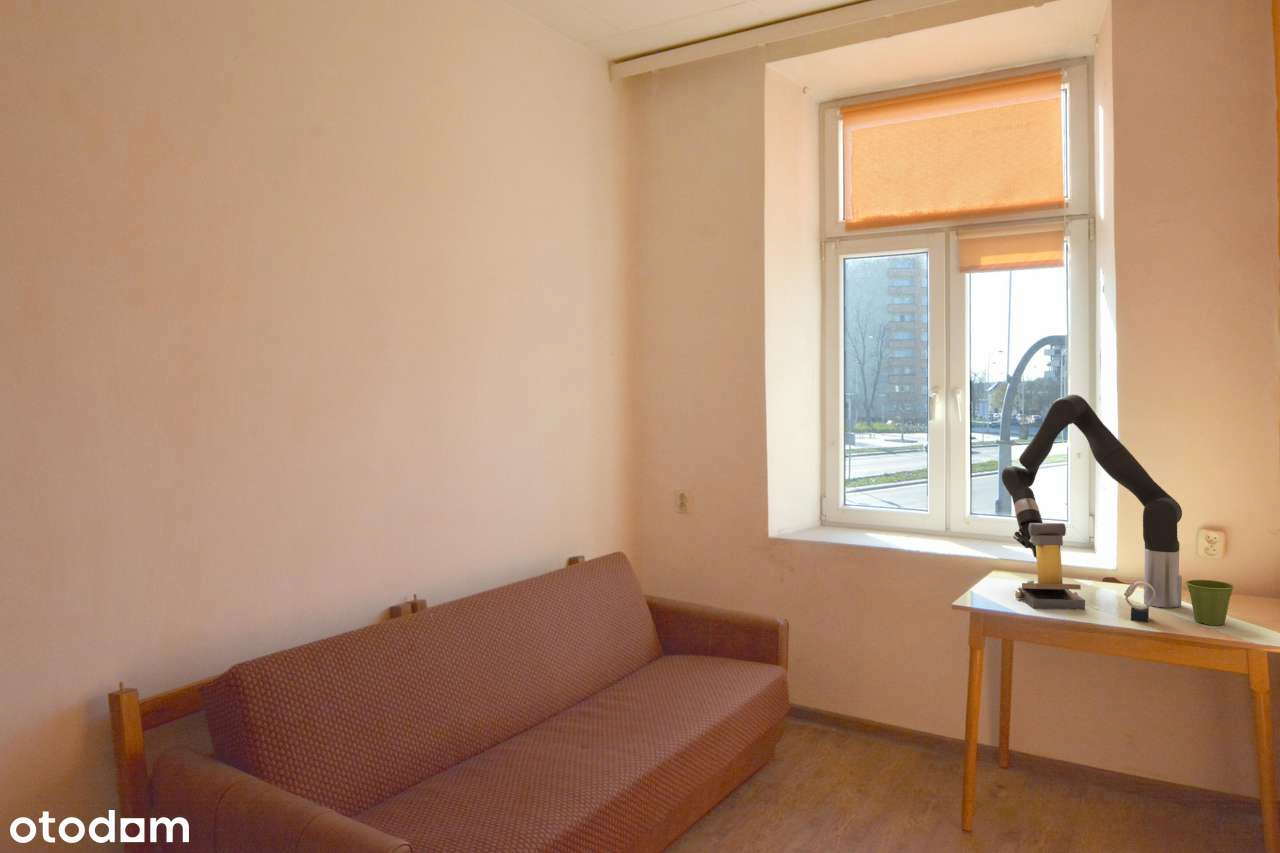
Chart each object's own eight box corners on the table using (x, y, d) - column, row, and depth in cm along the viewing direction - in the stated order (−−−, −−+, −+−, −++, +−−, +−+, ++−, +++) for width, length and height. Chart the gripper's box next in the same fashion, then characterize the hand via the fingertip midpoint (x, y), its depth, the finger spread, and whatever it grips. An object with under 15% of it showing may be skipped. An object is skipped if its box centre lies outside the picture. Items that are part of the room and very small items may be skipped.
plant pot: (1214, 616, 252) (1215, 578, 251) (1244, 627, 240) (1245, 588, 239) (1175, 617, 251) (1176, 579, 251) (1203, 628, 240) (1204, 589, 239)
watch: (1123, 615, 254) (1124, 578, 254) (1155, 618, 250) (1156, 581, 250) (1123, 619, 250) (1123, 582, 249) (1155, 623, 245) (1155, 585, 245)
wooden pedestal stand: (1064, 588, 275) (1060, 524, 278) (1080, 589, 261) (1076, 522, 265) (1022, 587, 277) (1018, 524, 280) (1036, 588, 263) (1032, 521, 266)
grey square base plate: (1070, 596, 277) (1070, 587, 277) (1090, 609, 261) (1090, 600, 260) (1011, 595, 279) (1011, 586, 279) (1028, 608, 263) (1028, 598, 263)
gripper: (1010, 507, 289) (1021, 550, 277) (1051, 508, 287) (1063, 551, 276) (1005, 521, 294) (1015, 563, 283) (1045, 521, 293) (1057, 564, 281)
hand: (1039, 557), depth 279 cm, fingers closed
